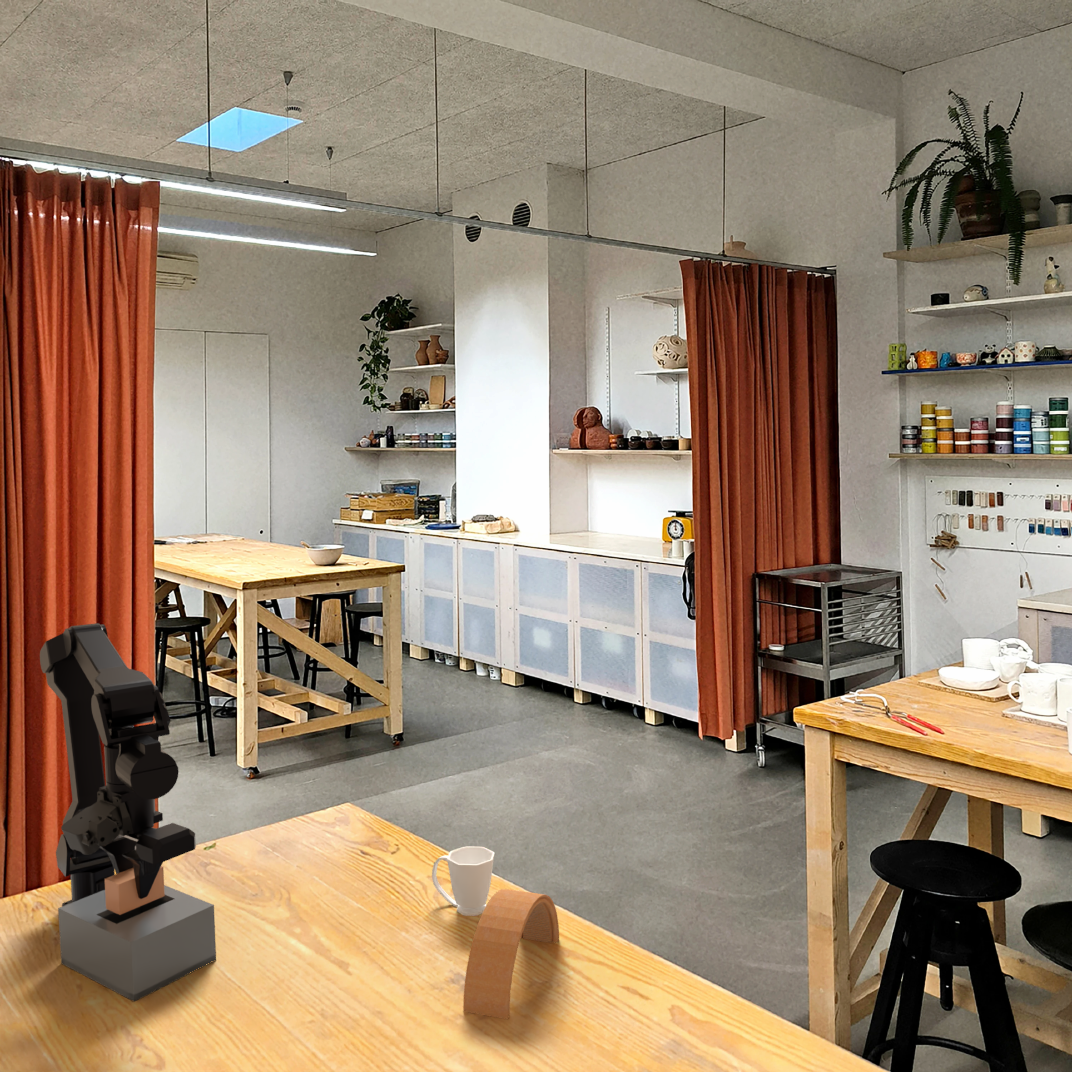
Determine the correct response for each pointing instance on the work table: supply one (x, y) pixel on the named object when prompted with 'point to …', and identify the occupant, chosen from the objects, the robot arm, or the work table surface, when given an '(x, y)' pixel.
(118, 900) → the block
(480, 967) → the arch
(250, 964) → the work table surface
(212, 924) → the box
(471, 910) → the cup
